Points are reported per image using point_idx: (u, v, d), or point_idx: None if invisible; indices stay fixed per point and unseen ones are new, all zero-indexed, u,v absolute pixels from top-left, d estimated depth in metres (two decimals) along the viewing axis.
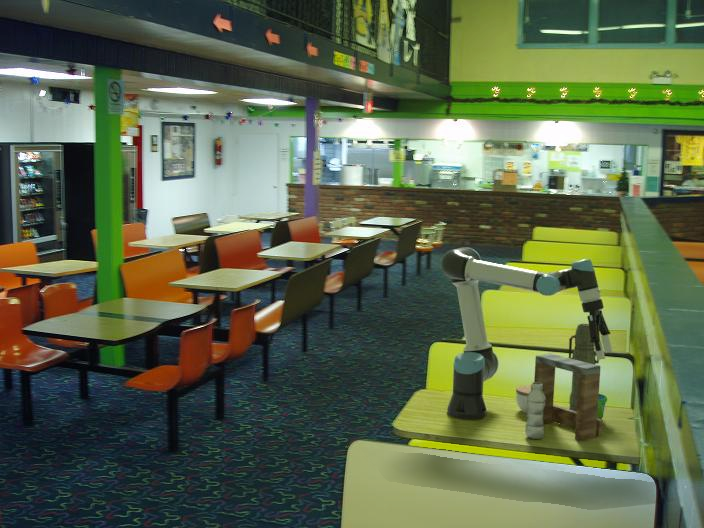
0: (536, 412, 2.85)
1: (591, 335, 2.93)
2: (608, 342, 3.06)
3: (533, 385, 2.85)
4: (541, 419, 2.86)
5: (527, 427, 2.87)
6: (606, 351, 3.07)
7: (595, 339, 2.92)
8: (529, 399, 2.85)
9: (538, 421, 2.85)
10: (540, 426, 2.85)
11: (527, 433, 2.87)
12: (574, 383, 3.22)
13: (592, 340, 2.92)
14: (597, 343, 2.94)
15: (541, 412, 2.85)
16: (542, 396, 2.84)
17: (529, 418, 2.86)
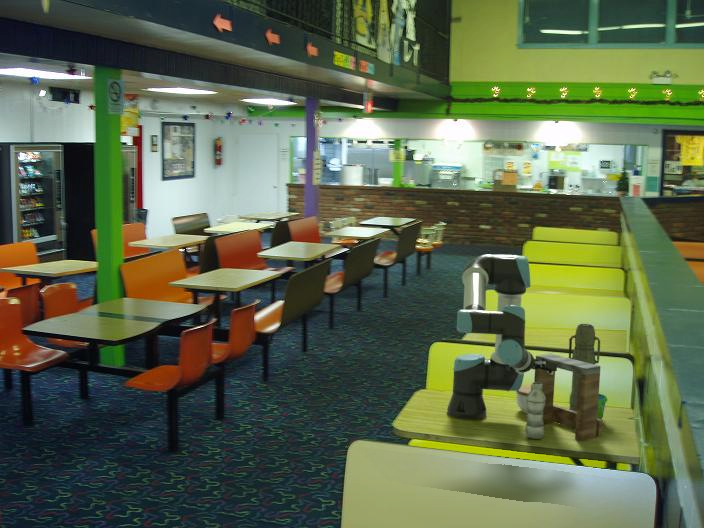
0: (536, 412, 2.85)
1: None
2: None
3: (533, 385, 2.85)
4: (541, 419, 2.86)
5: (527, 427, 2.87)
6: None
7: None
8: (529, 399, 2.85)
9: (538, 421, 2.85)
10: (540, 426, 2.85)
11: (527, 433, 2.87)
12: (574, 383, 3.22)
13: None
14: None
15: (541, 412, 2.85)
16: (542, 396, 2.84)
17: (529, 418, 2.86)
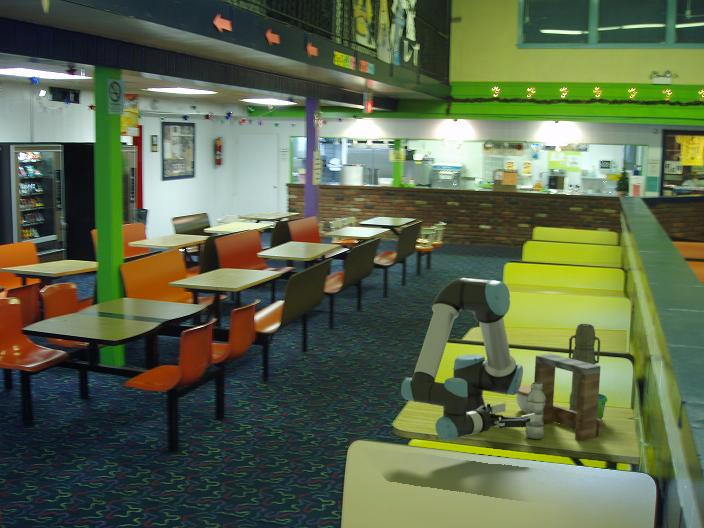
0: (536, 412, 2.85)
1: None
2: None
3: (533, 385, 2.85)
4: (541, 419, 2.86)
5: (527, 427, 2.87)
6: None
7: None
8: (529, 399, 2.85)
9: (538, 421, 2.85)
10: (540, 426, 2.85)
11: (527, 433, 2.87)
12: (574, 383, 3.22)
13: None
14: None
15: (541, 412, 2.85)
16: (542, 396, 2.84)
17: None
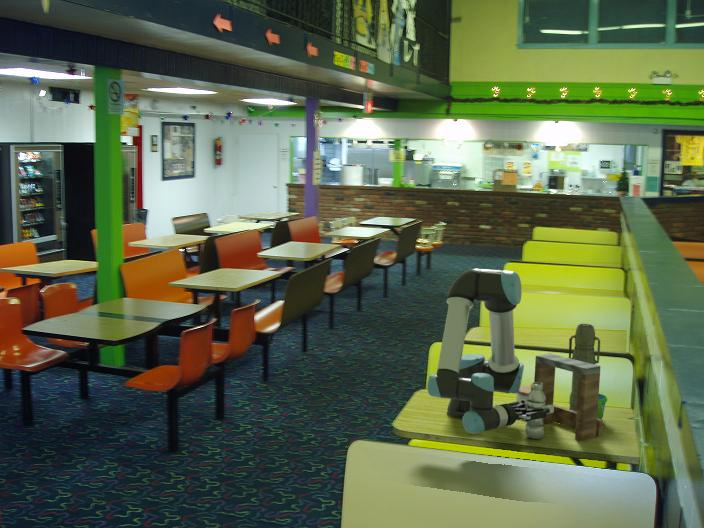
0: None
1: None
2: None
3: (533, 385, 2.85)
4: (541, 419, 2.85)
5: (527, 427, 2.87)
6: None
7: None
8: (529, 399, 2.85)
9: (538, 421, 2.85)
10: (540, 426, 2.85)
11: (527, 433, 2.87)
12: (574, 383, 3.22)
13: None
14: None
15: None
16: (542, 396, 2.84)
17: None
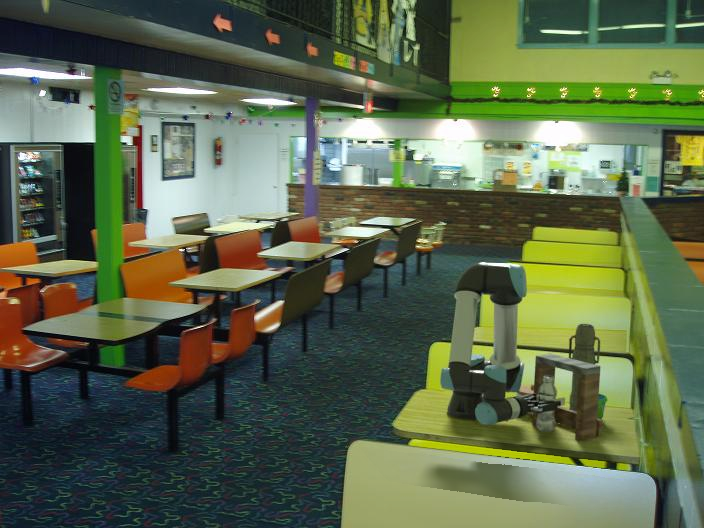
0: None
1: None
2: None
3: (545, 378, 2.89)
4: (552, 412, 2.89)
5: (538, 420, 2.90)
6: None
7: None
8: (540, 392, 2.89)
9: (549, 414, 2.88)
10: (551, 419, 2.89)
11: (538, 425, 2.90)
12: (574, 383, 3.22)
13: None
14: None
15: None
16: (554, 389, 2.88)
17: None
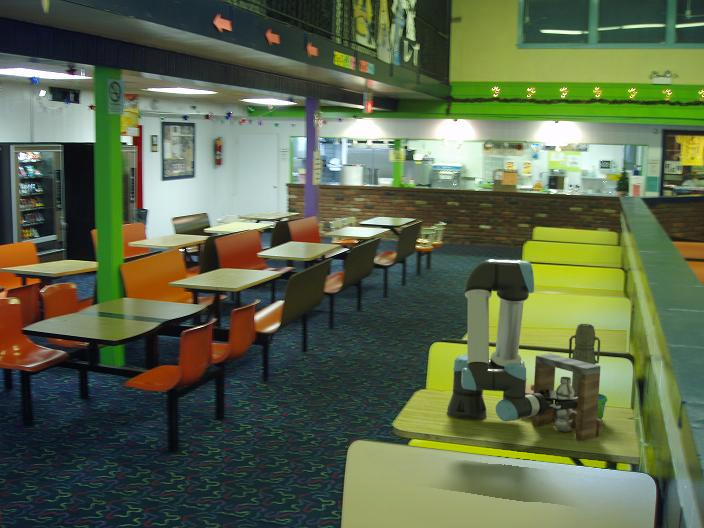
0: None
1: None
2: None
3: (562, 379, 2.94)
4: (570, 412, 2.95)
5: (556, 420, 2.96)
6: None
7: None
8: (558, 393, 2.95)
9: (567, 414, 2.94)
10: (569, 419, 2.95)
11: (557, 426, 2.96)
12: (574, 383, 3.22)
13: None
14: None
15: None
16: (571, 390, 2.94)
17: (558, 411, 2.96)
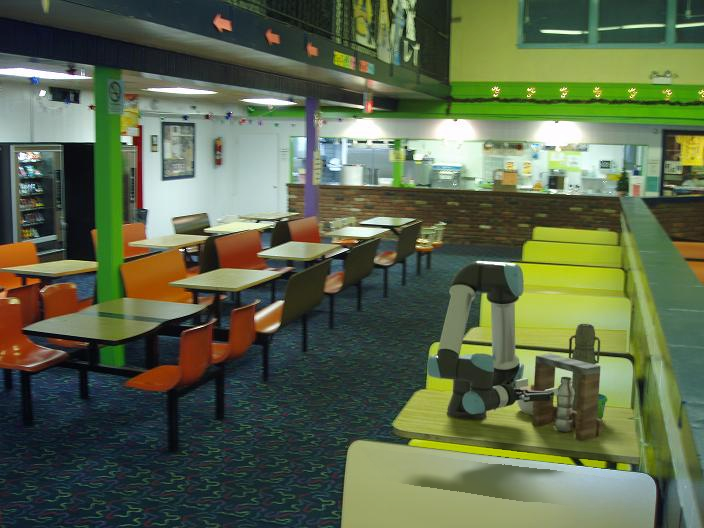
0: (565, 406, 2.94)
1: None
2: None
3: (562, 379, 2.95)
4: (570, 412, 2.95)
5: (557, 420, 2.96)
6: None
7: None
8: (558, 393, 2.95)
9: (567, 414, 2.94)
10: (569, 419, 2.95)
11: (557, 426, 2.96)
12: (574, 383, 3.22)
13: None
14: None
15: (570, 405, 2.94)
16: (571, 390, 2.94)
17: (558, 411, 2.96)
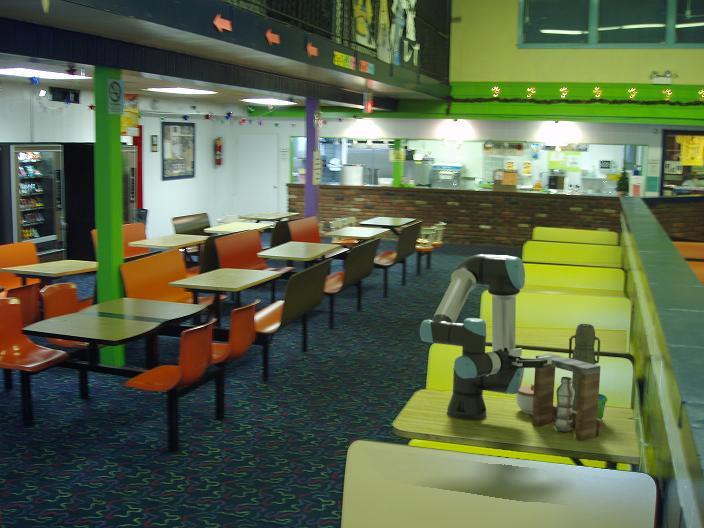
0: (565, 405, 2.94)
1: None
2: None
3: (563, 379, 2.95)
4: (570, 412, 2.95)
5: (557, 420, 2.96)
6: None
7: None
8: (558, 393, 2.95)
9: (567, 414, 2.94)
10: (569, 419, 2.95)
11: (557, 426, 2.96)
12: (574, 383, 3.22)
13: (499, 350, 2.89)
14: None
15: (570, 405, 2.94)
16: (571, 390, 2.94)
17: (559, 411, 2.96)
